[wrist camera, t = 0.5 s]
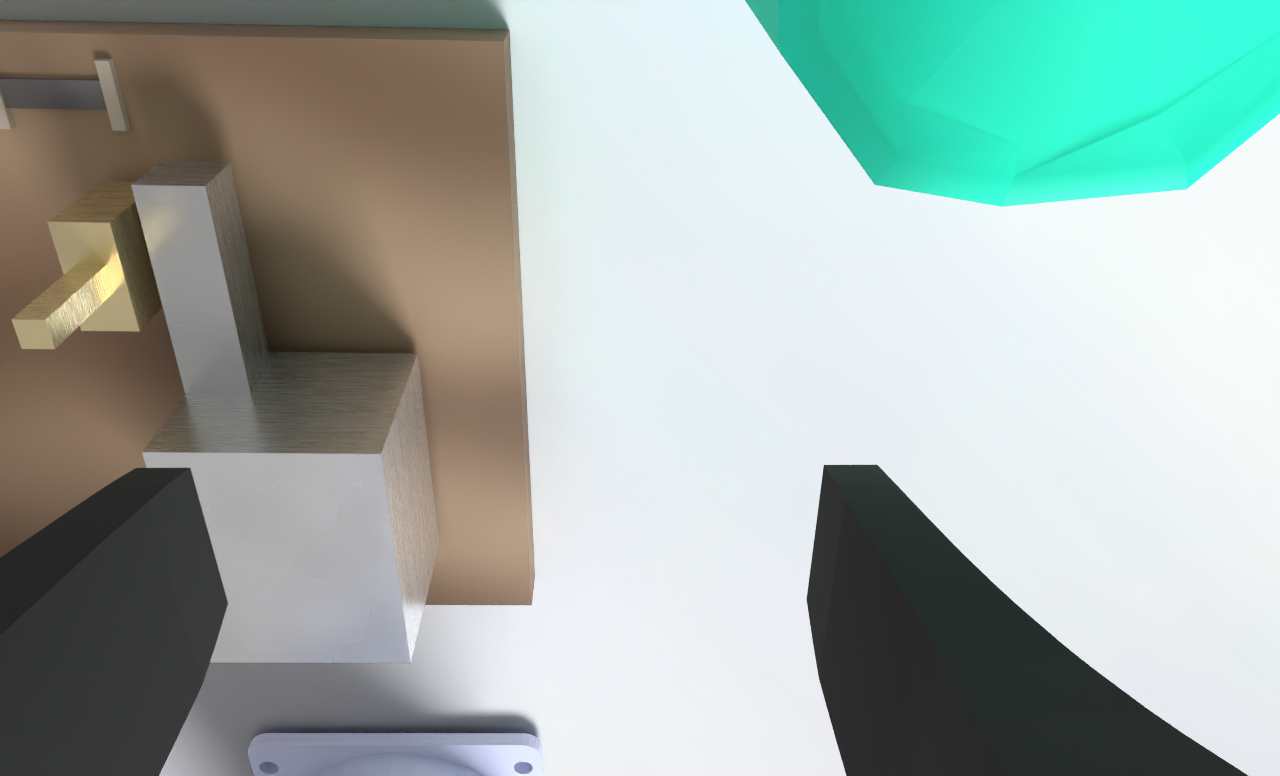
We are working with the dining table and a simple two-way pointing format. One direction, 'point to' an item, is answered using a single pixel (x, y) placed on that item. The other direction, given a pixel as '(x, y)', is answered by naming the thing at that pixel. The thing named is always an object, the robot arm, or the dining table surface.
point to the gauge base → (281, 247)
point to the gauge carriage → (287, 450)
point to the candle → (1035, 89)
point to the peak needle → (94, 271)
